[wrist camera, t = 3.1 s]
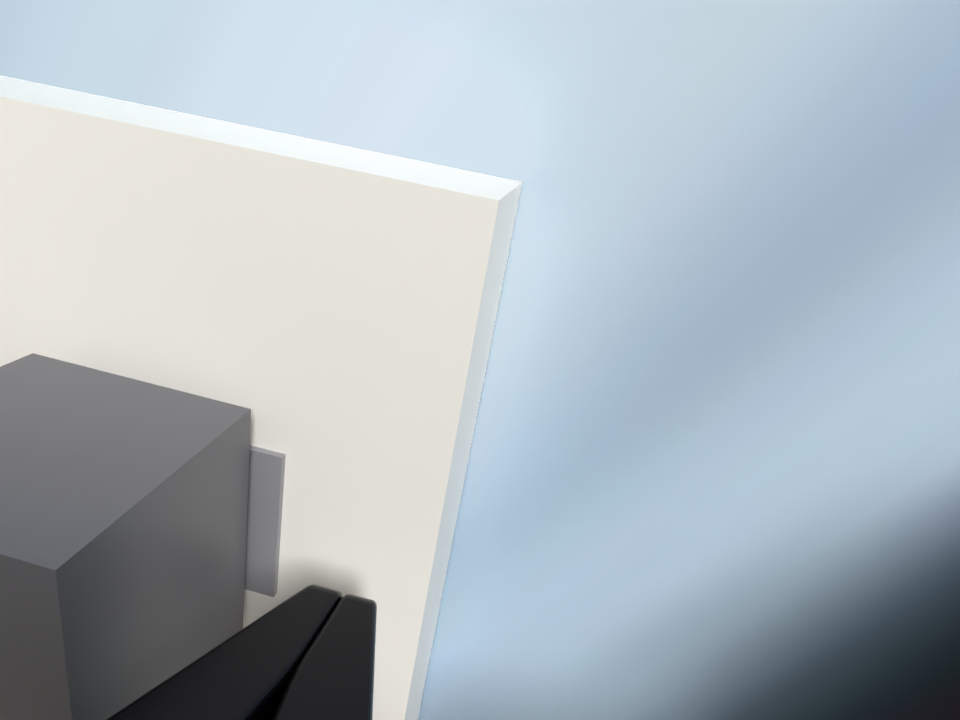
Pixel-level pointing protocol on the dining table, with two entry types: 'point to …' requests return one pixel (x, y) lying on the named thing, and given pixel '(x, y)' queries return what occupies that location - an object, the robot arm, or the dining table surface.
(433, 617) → the switch board
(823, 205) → the dining table surface
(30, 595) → the grey plastic block
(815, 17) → the dining table surface
